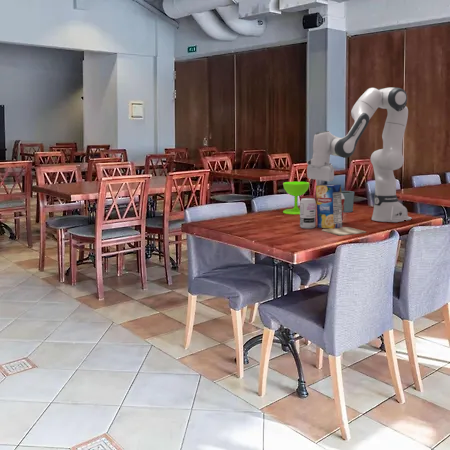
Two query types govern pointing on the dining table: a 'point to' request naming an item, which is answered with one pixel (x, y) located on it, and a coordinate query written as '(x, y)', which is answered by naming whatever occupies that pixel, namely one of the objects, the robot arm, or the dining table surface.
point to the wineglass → (295, 194)
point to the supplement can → (307, 213)
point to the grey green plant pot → (348, 200)
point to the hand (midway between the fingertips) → (319, 188)
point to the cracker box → (329, 206)
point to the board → (343, 231)
